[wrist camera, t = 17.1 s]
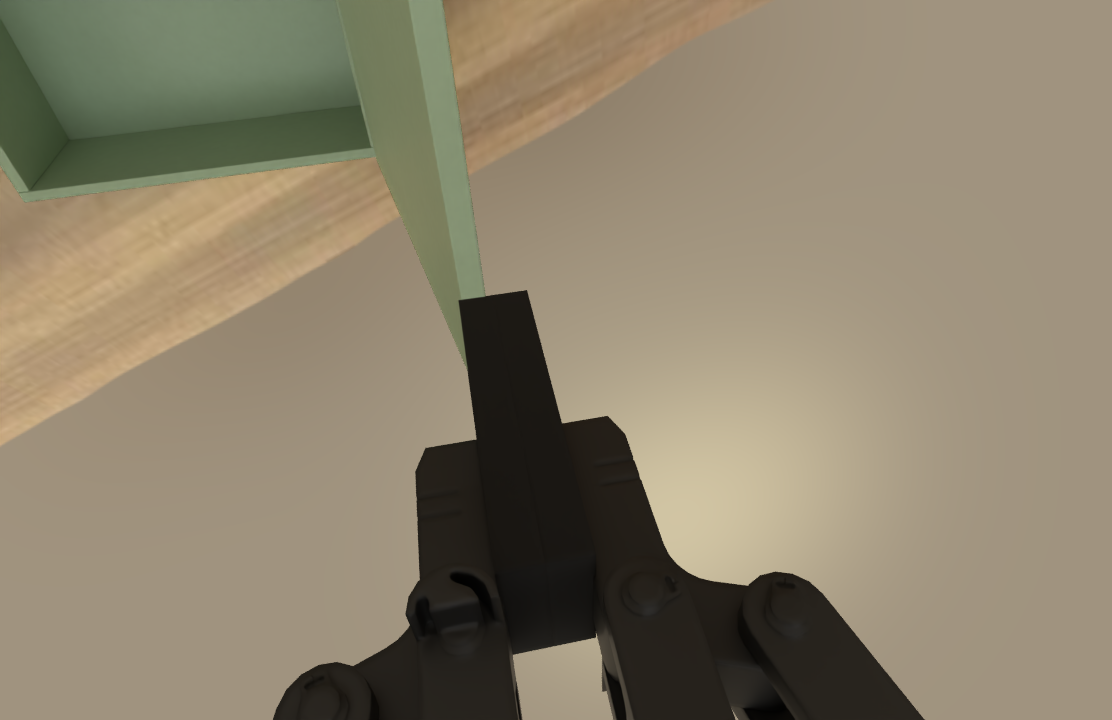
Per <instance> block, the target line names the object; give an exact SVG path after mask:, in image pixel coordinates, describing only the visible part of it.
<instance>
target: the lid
mask: <svg viewBox="0 0 1112 720" xmlns="http://www.w3.org/2000/svg"><path fill="white" fill-rule="evenodd" d="M338 3H339V7H340V11H341V15H342V19H343V23H344V27H345V31H346V36H347V40H348V44H349V48H350V52H351V56H352V60H353V64H354V68H355V73H356V77H357V81H358V85H359V89H360V93H361V97H362V101H363V105H364V110H365V114H366V118H367V122H368V126H369V130H370V134H371V138H372V142H373V147H374V151H375V155H376V159H377V162H378V164H379V167H380V169H381V171H382V174H383V176H384V178H385V181H386V183H387V185H388V188H389V190H390V192H391V194H392V197H393V199H394V201H395V204H396V206H397V208H398V211H399V213H400V215H401V218H402V220H403V222H404V224H405V227H406V229H407V231H408V234H409V236H410V239H411V241H412V243H413V245H414V248H415V250H416V252H417V255H418V257H419V259H420V262H421V264H422V266H423V269H424V271H425V273H426V275H427V278H428V280H429V282H430V285H431V287H432V289H433V291H434V294H435V296H436V298H437V301H438V303H439V306H440V308H441V310H442V313H443V315H444V317H445V319H446V322H447V324H448V326H449V329H450V331H451V333H452V336H453V338H454V340H455V342H456V345H457V347H458V349H459V352H460V354H461V356H462V359H463V361H464V364H465V366H466V368H467V362H466V354H465V347H464V339H463V332H462V324H461V317H460V309H459V302H458V300H463V299H470V298H477V297H484V296H486V295H485V288H484V282H483V274H482V268H481V261H480V254H479V248H478V240H477V234H476V226H475V219H474V213H473V206H472V199H471V192H470V186H469V178H468V171H467V164H466V158H465V151H464V144H463V137H462V130H461V123H460V116H459V109H458V102H457V96H456V89H455V82H454V75H453V68H452V61H451V54H450V47H449V41H448V34H447V27H446V20H445V13H444V6H443V0H338ZM467 371H468V370H467Z"/></svg>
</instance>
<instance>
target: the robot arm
mask: <svg viewBox="0 0 1112 720" xmlns="http://www.w3.org/2000/svg"><path fill="white" fill-rule="evenodd" d="M458 302H459V309H460V317H461V324H462V332H463V339H464V347H465V354H466V362H467V370H468V377H469V385H470V392H471V400H472V407H473V415H474V422H475V430H476V438H477V440H471V441H465V442H459V443H453V444H447V445H441V446H435V447H429V448H426V449H425V451H424V453H423V456H422V458H421V460H420V462H419V465H418V467H417V469H416V472H415V473H416V496H417V517H418V544H419V545H418V547H419V571H420V580H419V581H418V582H417V584H416V586H415V587H414V589H413V591H412V592H411V594H410V596H409V598H408V603H407V609H406V617H407V619H408V622H409V624H410V626H409V628H408V629H407V630H406V631H405V633H404V634H403V635H402V636H401V637H400V638H399V639H398V640H397V641H395V642H394V643H393V644H391V645H389V646H388V647H387V648H385V649H384V650H382V651H380V652H378V653H376V654H374V655H373V656H371V657H369V658H367V659H365V660H364V661H362V662H360V663H359V664H356V665H354V666H350V665H346V664H342V663H338V662H334V663H328V664H322V665H318V666H316V667H314V668H312V669H311V670H309V671H307V672H305V673H303V674H301V675H300V676H299V678H298V679H297V680H295V681H294V683H293V684H292V685H291V686H290V687H289V688H288V689H287V690H286V691H285V693H284V696H283V697H282V699H281V701H280V703H279V705H278V707H277V709H276V712H275V715H274V718H273V720H522V714H521V707H520V700H519V693H518V687H517V682H516V677H515V670H514V662H513V655H514V654H519V653H523V652H528V651H532V650H538V649H542V648H548V647H552V646H557V645H562V644H567V643H572V642H576V641H581V640H586V639H591V638H595V637H596V633H597V636H598V641H599V645H600V649H601V654H602V691H607V694H608V698H609V702H610V707H611V711H612V715H613V720H735V717H734V714H733V712H734V713H735V715H736V716H737V718H738V719H739V720H924V719H923V717H922V716H921V715H920V714H919V712H918V711H917V710H916V709H915V707H914V706H913V705H912V704H911V703H910V701H909V700H908V699H907V697H906V696H905V695H904V694H903V693H902V691H901V690H900V689H899V688H898V686H897V685H896V684H895V683H894V682H893V680H892V679H891V678H890V676H889V675H888V674H887V673H886V672H885V671H884V669H883V668H882V667H881V665H880V664H879V663H878V662H877V660H876V659H875V658H874V657H873V656H872V654H871V653H870V652H869V650H868V649H867V648H866V647H865V645H864V644H863V643H862V642H861V641H860V639H859V638H858V637H857V636H856V634H855V633H854V632H853V631H852V629H851V628H850V627H849V626H848V624H847V623H846V622H845V621H844V620H843V618H842V617H841V616H840V615H839V613H838V612H837V611H836V610H835V608H834V607H833V606H832V605H831V604H830V602H829V601H828V600H827V598H826V597H825V596H824V595H823V594H822V593H821V592H820V591H819V590H818V589H817V588H816V587H815V586H813V585H812V584H811V583H810V582H809V581H807V580H805V579H802V578H800V577H798V576H796V575H794V574H790V573H782V572H772V573H769V574H764V575H760V576H759V577H758V578H756V579H755V580H754V581H753V582H752V583H750V584H749V586H745V585H737V584H729V583H721V582H714V581H709V580H705V579H701V578H698V577H696V576H694V575H692V574H690V573H688V572H686V571H685V570H684V569H682V568H681V567H680V566H678V565H677V564H676V563H675V562H674V560H673V559H672V558H671V557H670V555H669V554H668V552H667V550H666V548H665V546H664V544H663V541H662V538H661V535H660V532H659V529H658V527H657V524H656V521H655V518H654V516H653V512H652V510H651V507H650V504H649V501H648V498H647V495H646V492H645V490H644V487H643V484H642V481H641V480H640V477H639V473H638V470H637V467H636V464H635V461H634V460H633V455H632V453H631V450H630V447H629V444H628V441H627V438H626V435H625V434H624V433H623V431H621V429H620V428H619V427H618V426H617V425H616V424H615V423H614V422H613V421H612V420H611V419H610V418H609V417H608V416H604V417H598V418H593V419H586V420H581V421H575V422H569V423H563V424H562V422H561V418H560V414H559V411H558V407H557V403H556V399H555V395H554V392H553V388H552V384H551V380H550V376H549V373H548V369H547V365H546V361H545V357H544V353H543V350H542V346H541V342H540V338H539V334H538V331H537V327H536V323H535V319H534V315H533V312H532V308H531V304H530V300H529V297H528V293H527V290H525V291H518V292H512V293H505V294H498V295H491V296H484V297H477V298H470V299H463V300H458ZM731 708H732V709H731ZM732 710H733V712H732Z"/></svg>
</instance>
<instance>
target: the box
mask: <svg viewBox="0 0 1112 720" xmlns="http://www.w3.org/2000/svg"><path fill="white" fill-rule="evenodd" d="M371 157H376V155H375V151H374V147H373V142H372V138H371V134H370V130H369V126H368V122H367V118H366V114H365V110H364V105H363V101H362V97H361V93H360V89H359V85H358V81H357V77H356V73H355V68H354V64H353V60H352V56H351V52H350V48H349V44H348V40H347V36H346V31H345V27H344V23H343V19H342V15H341V11H340V7H339V3H338V0H0V166H1V168H2V169H3V171H4V172H5V174H6V175H7V177H8V178H9V180H10V181H11V183H12V184H13V186H14V187H15V189H16V190H17V192H19V195H20V196H21V198H22V199H23V201H24V202H33V201H40V200H48V199H56V198H63V197H71V196H79V195H86V194H94V193H102V192H109V191H117V190H125V189H133V188H140V187H148V186H156V185H163V184H171V183H179V182H186V181H194V180H202V179H209V178H217V177H225V176H232V175H240V174H248V173H256V172H263V171H271V170H279V169H286V168H294V167H302V166H309V165H317V164H325V163H332V162H340V161H348V160H356V159H363V158H371Z"/></svg>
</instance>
